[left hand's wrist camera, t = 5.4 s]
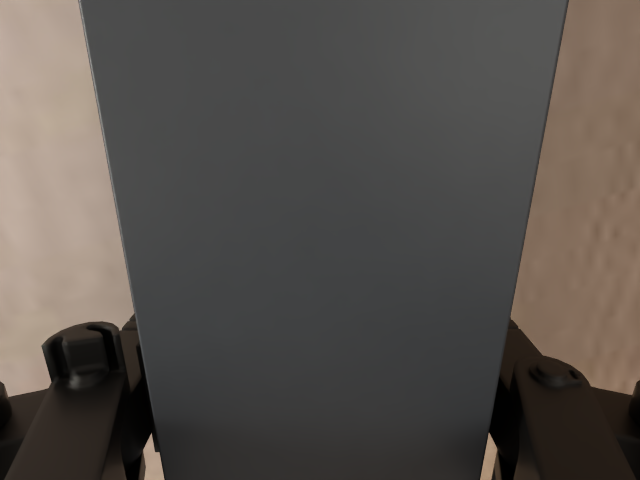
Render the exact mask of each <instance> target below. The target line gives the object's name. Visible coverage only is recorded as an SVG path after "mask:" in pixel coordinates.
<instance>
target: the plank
mask: <svg viewBox="0 0 640 480" xmlns="http://www.w3.org/2000/svg"><path fill="white" fill-rule="evenodd" d="M78 1H79V7H80V12H81V18H82V23H83V29H84V35H85V40H86V46H87V51H88V57H89V62H90V68H91V73H92V79H93V85H94V90H95V96H96V101H97V107H98V112H99V118H100V123H101V129H102V135H103V140H104V146H105V151H106V157H107V162H108V168H109V173H110V179H111V185H112V190H113V196H114V201H115V207H116V212H117V218H118V223H119V229H120V234H121V240H122V246H123V251H124V257H125V262H126V268H127V273H128V279H129V284H130V290H131V296H132V301H133V307H134V312H135V318H136V323H137V329H138V334H139V340H140V346H141V351H142V357H143V362H144V368H145V373H146V379H147V384H148V390H149V396H150V401H151V407H152V412H153V418H154V423H155V429H156V434H157V440H158V445H159V451H160V457H161V462H162V468H163V473H164V479H165V480H480V477H481V471H482V466H483V460H484V455H485V450H486V444H487V439H488V433H489V428H490V423H491V417H492V412H493V406H494V401H495V396H496V390H497V385H498V380H499V374H500V369H501V363H502V358H503V353H504V347H505V342H506V336H507V331H508V326H509V320H510V315H511V309H512V304H513V299H514V293H515V288H516V282H517V277H518V272H519V266H520V261H521V255H522V250H523V245H524V239H525V234H526V228H527V223H528V218H529V212H530V207H531V201H532V196H533V191H534V185H535V180H536V175H537V169H538V164H539V158H540V153H541V148H542V142H543V137H544V131H545V126H546V121H547V115H548V110H549V104H550V99H551V94H552V88H553V83H554V77H555V72H556V67H557V61H558V56H559V50H560V45H561V40H562V34H563V29H564V23H565V18H566V13H567V7H568V2H569V0H78Z"/></svg>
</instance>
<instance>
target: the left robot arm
mask: <svg viewBox="0 0 640 480" xmlns="http://www.w3.org/2000/svg"><path fill="white" fill-rule="evenodd" d="M42 349H43V353H44V357H45V360H46V364H47V367H48V371H49V374H50V378H51V382H52V383H51V385H50V387H49V388H48V389H45V390H41V391H36V392H31V393H26V394H21V395H16V396H11V397H8V395H7V392H6V389H5V386H4V384H3V383H2V382H0V480H144V477H145V469H146V466H145V459H144V454H143V449H144V447H145V445H146V443H147V441H148V439H149V437H150V435H151V433H152V437H153V442H154V448H155V452H160V451H159V445H158V440H157V434H156V429H155V423H154V418H153V412H152V407H151V401H150V396H149V390H148V384H147V379H146V373H145V368H144V362H143V357H142V351H141V346H140V340H139V334H138V329H137V323H136V318H135V313H134V315H133V316H132V317H131V318H130V321H128V322H127V323H126V324H125V325H124V326H123V328H122V331H119V328H118V327H117V326H115V325H114V324H112V323H107V322H88V323H83V324H79V325H74V326H72V327H69V328H67V329H64V330H61V331H60V332H58V333H56V334H55V335H53V336H51V337H50V338H48V339H47V341H46V342H45V343H44V344H43V345H42ZM489 433H490V435H491V437H492V439H493V441H494V443H495V445H496V447H497V454H496V459H495V464H494V469H493V474H492V479H491V480H640V380H639V381H638V382H637V383H636V386H635V389H634V392H633V395H628V394H623V393H618V392H613V391H608V390H603V389H599V388H595V387H591V386H590V384H589V382H588V381H587V379H586V378H585V377H584V375H583V374H582V373H581V372H579V371H578V370H577V369H575V368H574V367H572V366H571V365H569V364H567V363H565V362H562V361H560V360H558V359H555V358H551V357H547V356H543V355H542V354H541V353H540V352H539V351H538V349H537V348H536V347H535V346H534V345H533V344H532V342H531V341H530V340H529V339H528V338H527V337H526V335H525V334H524V333H523V332H522V331H521V329H518V326H517V325H516V324H515V322H514V321H513V320H511V318H510V320H509V326H508V331H507V336H506V342H505V347H504V353H503V358H502V363H501V369H500V374H499V380H498V385H497V390H496V396H495V401H494V406H493V412H492V417H491V423H490V428H489Z"/></svg>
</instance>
